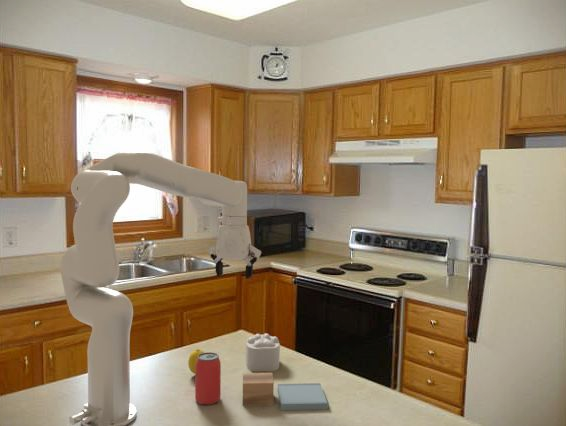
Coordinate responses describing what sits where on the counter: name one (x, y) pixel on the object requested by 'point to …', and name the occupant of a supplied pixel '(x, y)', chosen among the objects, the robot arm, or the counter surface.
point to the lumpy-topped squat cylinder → (262, 353)
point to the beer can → (207, 378)
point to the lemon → (193, 359)
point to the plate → (301, 396)
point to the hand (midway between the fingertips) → (234, 276)
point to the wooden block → (258, 389)
